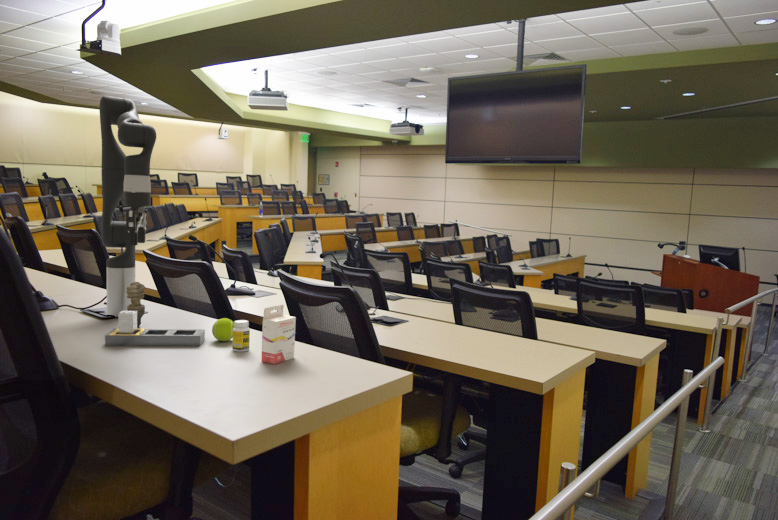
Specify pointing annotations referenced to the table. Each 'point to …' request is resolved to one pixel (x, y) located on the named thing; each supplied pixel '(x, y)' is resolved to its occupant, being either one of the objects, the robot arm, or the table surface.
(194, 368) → the table surface
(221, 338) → the tennis ball
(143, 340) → the grey long flat frame
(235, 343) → the supplement bottle
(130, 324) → the brushed metal square block
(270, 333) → the ink cartridge box
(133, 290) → the beige stone carving
